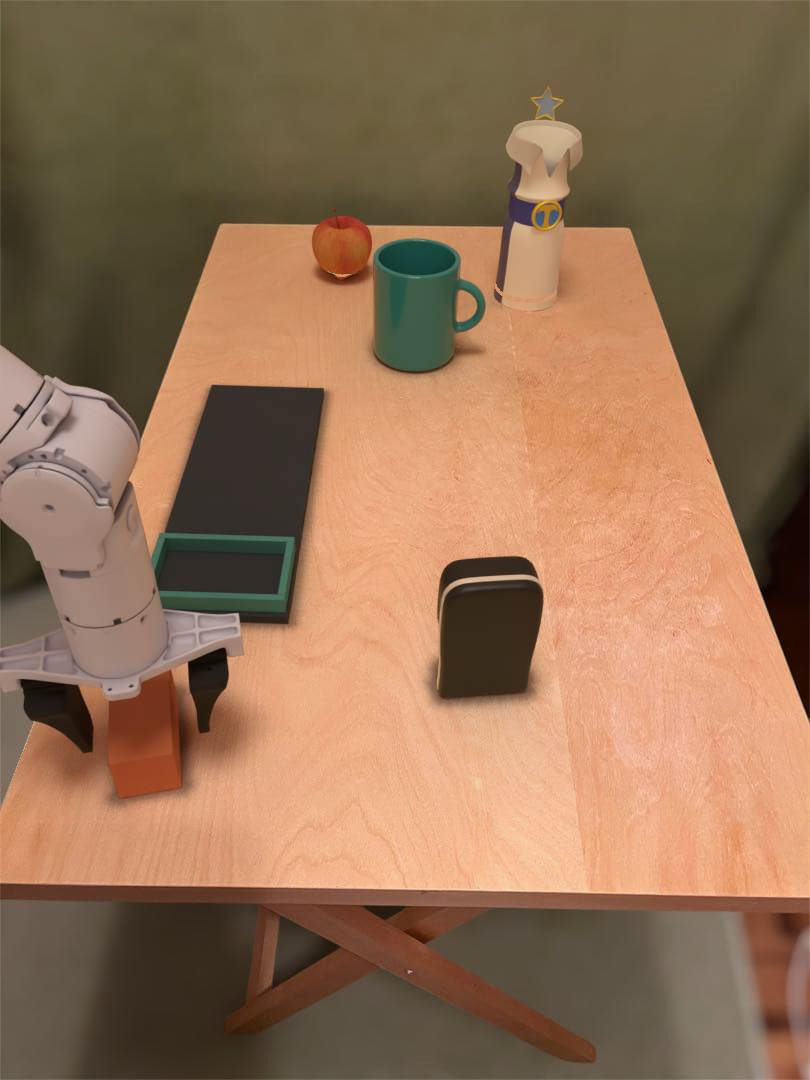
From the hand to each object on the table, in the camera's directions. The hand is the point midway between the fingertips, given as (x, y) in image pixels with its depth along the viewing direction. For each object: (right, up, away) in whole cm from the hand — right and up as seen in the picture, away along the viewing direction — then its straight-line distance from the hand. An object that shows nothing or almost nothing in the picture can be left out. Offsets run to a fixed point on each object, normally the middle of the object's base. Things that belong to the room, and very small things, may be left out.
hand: (146, 730), depth 62 cm
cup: (+20, +34, +39) cm, 55 cm away
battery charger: (+23, +3, +6) cm, 24 cm away
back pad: (+3, +17, +21) cm, 28 cm away
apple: (+10, +46, +53) cm, 71 cm away
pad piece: (0, -1, +1) cm, 2 cm away
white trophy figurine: (+33, +43, +50) cm, 73 cm away
